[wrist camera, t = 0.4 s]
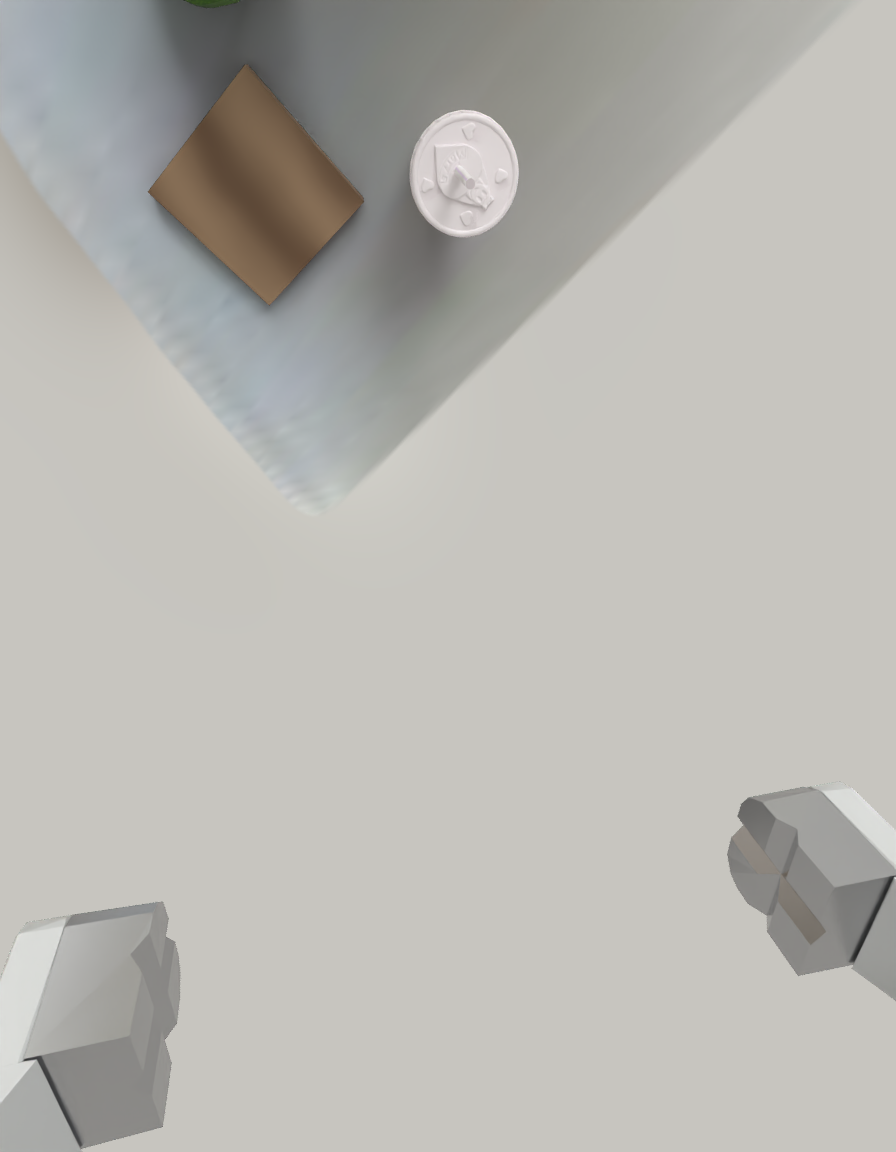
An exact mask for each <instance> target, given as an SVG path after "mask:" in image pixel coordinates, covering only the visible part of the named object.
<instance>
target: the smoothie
mask: <svg viewBox="0 0 896 1152" xmlns="http://www.w3.org/2000/svg"><path fill="white" fill-rule="evenodd" d="M518 176H519V168H518V160H517V155H516V152H515V149H514V146H513V144H512V142H511V140H510V138H509V137H508V135H507V134H506V132H505V131H504V130H503V128H502V127H501V126H500V125H499V124H498V123H496V122H495V121H494V120H493V119H492V118H491V117H489V116H486V115H484V114H482V113H480V112H478V111H470V110H459V111H454V112H450V113H447V114H445V115H443V116H441V117H440V118H438V119H436V120H434V121H433V122H432V123H431V124H430V126H429V127H428V128H427V129H426V130H425V131H424V132H423V133H422V135H421V137H420V138H419V140H418V142H417V144H416V145H415V148H414V151H413V155H412V158H411V162H410V178H409V180H410V186H411V191H412V196H413V198H414V201H415V203H416V205H417V207H418V210H419V211H420V212H421V214H422V215H423V216H424V217H425V219H426V220H427V221H428V222H429V223H430V224H431V225H432V226H433V227H435V228H436V229H437V230H439V231H441V232H443V233H445V234H447V235H450V236H454V237H472V236H476V235H479V234H482V233H484V232H486V231H488V230H489V229H491V228H492V227H494V226H495V225H496V224H497V223H498V222H499V221H500V220H501V219H502V218H503V217H504V216H505V214H506V213H507V211H508V210H509V208H510V206H511V204H512V202H513V200H514V197H515V194H516V190H517V185H518Z"/></svg>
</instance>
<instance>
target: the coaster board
mask: <svg viewBox="0 0 896 1152" xmlns="http://www.w3.org/2000/svg"><path fill="white" fill-rule="evenodd" d="M148 193H149V194H150V195H151V196H153V197H154V198H155V199H156V200H157V201H158V202H159V203H160V204H161V205H162V206H163V207H164V208H165V209H166V210H168V211H169V212H170V213H171V214H172V215H173V216H174V217H175V218H176V219H177V220H178V221H179V222H180V223H181V224H183V225H184V226H185V227H186V228H187V229H188V230H189V231H190V232H191V233H192V234H193V235H194V236H195V237H196V238H198V239H199V240H200V241H201V242H202V243H203V244H204V245H205V246H206V247H207V248H208V249H209V250H210V251H211V252H212V253H214V254H215V255H216V256H217V257H218V258H219V259H220V260H221V261H222V262H223V263H224V264H225V265H226V266H227V267H229V268H230V269H231V270H232V271H233V272H234V273H235V274H236V275H237V276H238V277H239V278H240V279H241V280H242V281H244V282H245V283H246V284H247V285H248V286H249V287H250V288H251V289H252V290H253V291H254V292H255V293H256V294H257V295H259V296H260V297H261V298H262V299H263V300H264V301H265V302H266V303H267V304H268V305H270V304H271V303H272V302H273V301H274V300H275V299H276V298H277V297H278V295H279V294H280V293H281V292H282V291H283V290H284V289H285V288H286V287H287V286H288V285H289V283H290V282H291V281H292V280H293V279H294V278H295V277H296V276H297V275H298V274H299V272H300V271H301V270H302V269H303V268H304V267H305V266H306V265H307V264H308V263H309V262H310V260H311V259H312V258H313V257H314V256H315V255H316V254H317V253H318V252H319V251H320V249H321V248H322V247H323V246H324V245H325V244H326V243H327V242H328V241H329V240H330V239H331V237H332V236H333V235H334V234H335V233H336V232H337V231H338V230H339V229H340V228H341V226H342V225H343V224H344V223H345V222H346V221H347V220H348V219H349V218H350V217H351V216H352V214H353V213H354V212H355V211H356V210H357V209H358V208H359V207H360V206H361V205H362V204H363V202H364V199H363V197H362V196H361V195H360V193H359V192H358V191H357V190H356V189H355V188H354V186H353V185H352V184H351V183H350V182H349V181H348V180H347V178H346V177H345V176H344V175H343V174H342V173H341V171H340V170H339V169H338V168H337V167H336V166H335V165H334V163H333V162H332V161H331V160H330V159H329V158H328V157H327V155H326V154H325V153H324V152H323V151H322V150H321V148H320V147H319V146H318V145H317V144H316V143H315V142H314V140H313V139H312V138H311V137H310V136H309V135H308V133H307V132H306V131H305V130H304V129H303V128H302V127H301V125H300V124H299V123H298V122H297V121H296V120H295V118H294V117H293V116H292V115H291V114H290V113H289V112H288V110H287V109H286V108H285V107H284V106H283V105H282V103H281V102H280V101H279V100H278V99H277V98H276V97H275V95H274V94H273V93H272V92H271V91H270V90H269V89H268V87H267V86H266V85H265V84H264V83H263V82H262V80H261V79H260V78H259V77H258V76H257V75H256V74H255V72H254V71H253V70H252V69H251V68H250V67H249V65H248V64H246V65H244V66H243V68H242V69H241V70H240V72H239V73H238V74H237V75H236V77H235V78H234V79H233V81H232V82H231V83H230V85H229V86H228V87H227V89H226V90H225V91H224V93H223V94H222V95H221V96H220V98H219V99H218V100H217V102H216V103H215V104H214V106H213V107H212V108H211V110H210V111H209V112H208V114H207V115H206V116H205V117H204V119H203V120H202V121H201V123H200V124H199V125H198V127H197V128H196V129H195V131H194V132H193V133H192V135H191V136H190V137H189V138H188V140H187V141H186V142H185V144H184V145H183V146H182V148H181V149H180V150H179V152H178V153H177V154H176V156H175V157H174V158H173V159H172V161H171V162H170V163H169V165H168V166H167V167H166V169H165V170H164V171H163V173H162V174H161V175H160V177H159V178H158V179H157V180H156V182H155V183H154V184H153V186H152V187H151V188H150V190H149V191H148Z"/></svg>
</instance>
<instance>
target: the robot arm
mask: <svg viewBox="0 0 896 1152" xmlns="http://www.w3.org/2000/svg"><path fill="white" fill-rule="evenodd" d="M738 818H739V819H740V821H741V822H742V824H743V826H742V827H741V828H740V829H739V830H738V831H737V832H736V834H735V835H734V836H733V837H732V838H731V841H730V845H729V850H728V854H727V855H728V861H729V866H730V872H731V875H732V877H733V879H734V882H735V884H736V886H737V888H738V890H739V891H740V893H741V894H742V896H743V897H744V899H745V900H746V902H747V903H748V904H749V905H751V906H752V907H754V908H756V909H757V910H759V911H761V912H762V913H764V914H765V915H767V932H768V933H769V935H770V936H771V938H772V939H773V941H774V942H775V943H776V945H777V946H778V948H779V949H780V951H781V952H782V954H783V955H784V956H785V958H786V959H787V961H788V962H789V964H790V965H791V966H792V968H793V969H794V971H795V972H796V974H797V975H798V976H800V975H805V974H809V973H814V972H819V971H824V970H829V969H834V968H839V967H844V966H849V965H853V967H852V969H853V970H855V971H856V972H858V973H859V974H860V975H861V976H863V977H864V978H866V979H867V980H868V981H870V982H871V983H872V984H874V985H875V986H876V987H878V988H879V989H881V990H882V991H883V992H885V993H886V994H887V995H889V996H890V997H891V998H893V999H894V1000H895V1001H896V830H895V829H893V827H892V826H891V825H890V824H888V823H887V822H886V821H885V820H884V819H883V818H882V817H881V816H880V815H879V814H878V813H877V812H876V811H875V810H874V809H873V808H872V807H871V806H870V805H869V804H868V803H867V802H866V801H865V800H864V799H863V798H862V797H861V796H860V795H859V794H858V793H856V791H855V790H854V789H852V788H851V787H850V786H848V785H846V784H844V783H842V782H833V783H827V784H822V785H816V786H811V787H807V788H806V787H800V788H795V789H790V790H785V791H780V792H774V793H769V794H764V795H759V796H753V797H749V798H747V799H746V800H745V801H744V802H743V803H742V804H741V807H740V811H739V814H738ZM167 925H168V916H167V913H166V910H165V907H164V904H163V902H156V903H149V904H142V905H135V906H129V907H122V908H115V909H108V910H102V911H95V912H88V913H81V914H75V915H69V916H63V917H57V918H51V919H44V920H39V921H32V922H27V923H26V924H25V925H24V927H23V928H22V930H21V931H20V932H19V934H18V935H17V936H16V938H15V940H14V943H13V945H12V948H11V951H10V953H9V956H8V958H7V961H6V964H5V966H4V969H3V972H2V974H1V977H0V1152H82V1151H81V1149H82V1148H86V1147H89V1146H93V1145H97V1144H101V1143H105V1142H108V1141H112V1140H116V1139H119V1138H123V1137H127V1136H131V1135H135V1134H138V1133H142V1132H145V1131H149V1130H153V1129H157V1128H161V1127H163V1121H164V1114H165V1106H166V1100H167V1092H168V1085H169V1078H170V1071H171V1060H170V1056H169V1053H168V1050H167V1046H166V1043H165V1039H166V1038H167V1036H168V1035H169V1033H170V1032H171V1030H172V1029H173V1028H174V1026H175V1025H176V1024H177V1018H178V1010H179V1001H180V965H179V956H178V952H177V948H176V944H175V942H174V941H173V940H171V939H169V938H167V937H166V932H167Z"/></svg>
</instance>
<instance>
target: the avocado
mask: <svg viewBox="0 0 896 1152" xmlns="http://www.w3.org/2000/svg"><path fill="white" fill-rule="evenodd" d="M184 1H187V2H189V3H191V4H194V5H196V6H200V7H204V8H215V7H220V6H224V5H229V4H233V3H237V2H239V1H240V0H184Z"/></svg>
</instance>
